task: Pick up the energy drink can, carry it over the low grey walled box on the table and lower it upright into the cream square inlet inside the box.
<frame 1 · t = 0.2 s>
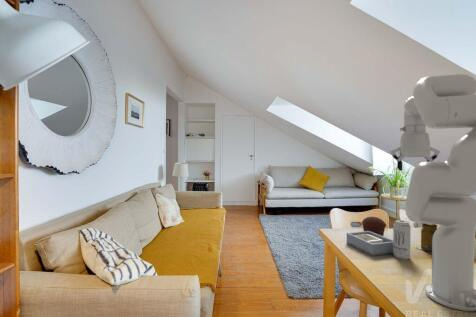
hand: (413, 170, 106), 36 cm above the table, tool pointing down, fingers open, 9 cm apart
energy drink can: (401, 257, 106), on the table
condiment: (430, 251, 113), on the table
muffin: (373, 236, 132), on the table
walled box: (370, 247, 116), on the table
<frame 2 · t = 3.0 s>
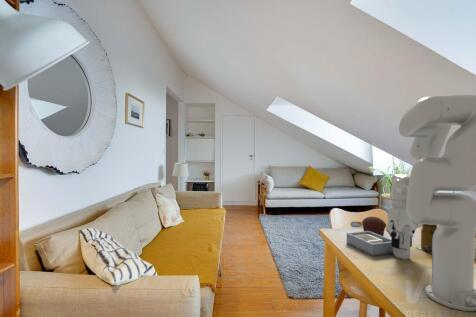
hand: (401, 246, 106), 5 cm above the table, tool pointing down, fingers closed on energy drink can, 6 cm apart
energy drink can: (401, 257, 106), on the table, touching gripper
everything else where it was.
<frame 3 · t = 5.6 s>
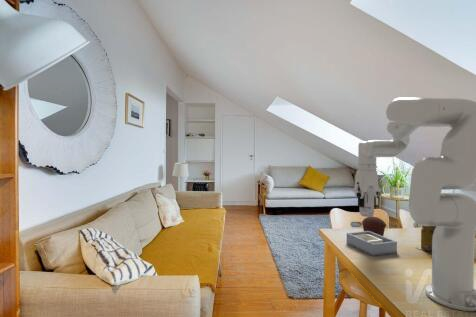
hand: (366, 205, 118), 19 cm above the table, tool pointing down, fingers closed on energy drink can, 6 cm apart
energy drink can: (366, 216, 118), point 14 cm above the table, touching gripper
everything else where it was.
when the fingers open (7 cm above the table, at t = 8.1 s): energy drink can drops 1 cm, resting on walled box.
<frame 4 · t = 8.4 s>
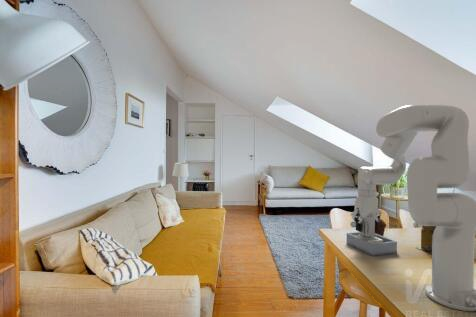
hand: (366, 230, 118), 8 cm above the table, tool pointing down, fingers open, 8 cm apart
energy drink can: (367, 244, 118), point 1 cm above the table, touching walled box
everything else where it was.
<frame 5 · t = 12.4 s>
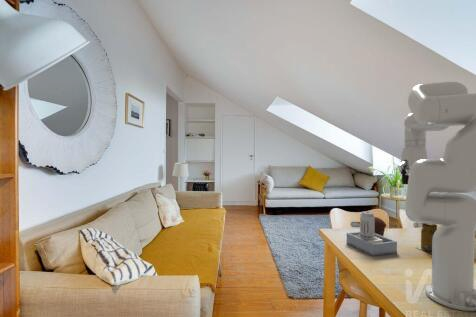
hand: (414, 183, 109), 30 cm above the table, tool pointing down, fingers open, 9 cm apart
nothing on the table moved.
at the end: energy drink can 0.3 cm from the target spot on the walled box, point 0.6 cm above the walled box's base; energy drink can tilted 0°; the gripper is holding nothing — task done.
